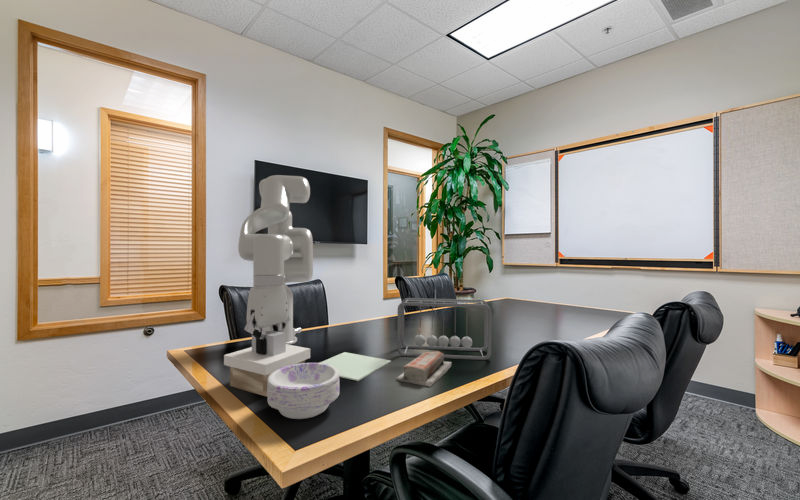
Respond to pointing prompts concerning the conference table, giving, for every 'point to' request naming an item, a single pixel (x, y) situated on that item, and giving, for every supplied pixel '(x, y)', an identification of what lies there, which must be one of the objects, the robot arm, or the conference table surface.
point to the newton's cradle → (443, 340)
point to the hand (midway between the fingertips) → (268, 350)
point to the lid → (267, 355)
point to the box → (250, 380)
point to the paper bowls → (303, 389)
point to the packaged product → (425, 369)
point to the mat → (355, 365)
